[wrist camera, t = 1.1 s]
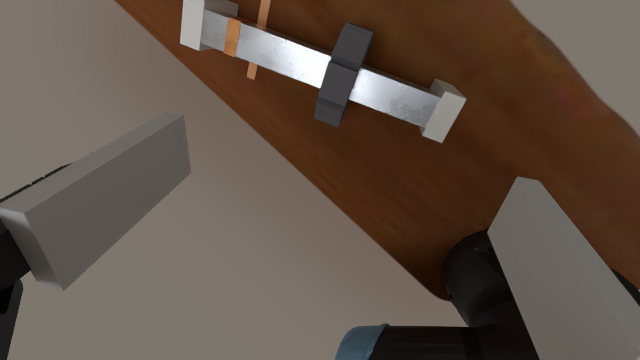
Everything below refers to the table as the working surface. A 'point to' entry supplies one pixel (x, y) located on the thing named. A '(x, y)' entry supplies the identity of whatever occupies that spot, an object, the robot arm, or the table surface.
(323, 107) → the ring
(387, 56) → the table surface
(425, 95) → the light grey bar
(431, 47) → the table surface
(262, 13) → the stand
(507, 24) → the table surface
